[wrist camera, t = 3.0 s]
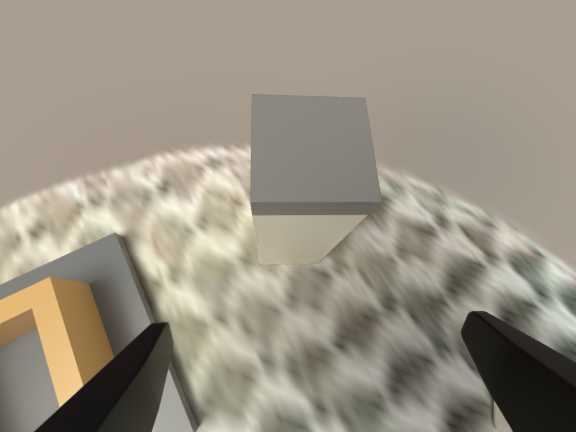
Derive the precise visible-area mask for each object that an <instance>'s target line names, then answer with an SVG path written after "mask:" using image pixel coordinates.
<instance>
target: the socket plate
mask: <svg viewBox="0 0 576 432" xmlns="http://www.w3.org/2000/svg"><path fill="white" fill-rule="evenodd" d="M153 322H156V321H155V318H154V316H153V313H152V311H151V308H150V306H149V303H148V301H147V298H146V296H145V293H144V291H143V288H142V286H141V283H140V281H139V278H138V276H137V273H136V271H135V268H134V266H133V263H132V261H131V258H130V256H129V253H128V251H127V248H126V246H125V243H124V241H123V238H122V236H120V235H118V234H116V233H113V234H111V235H109V236H107V237H104V238H102V239H100V240H98V241H96V242H93V243H91V244H89V245H87V246H85V247H82V248H80V249H78V250H76V251H74V252H71V253H69V254H67V255H65V256H63V257H61V258H58V259H56V260H54V261H52V262H50V263H47V264H45V265H43V266H41V267H39V268H36V269H34V270H32V271H30V272H28V273H26V274H23V275H21V276H19V277H17V278H15V279H12V280H10V281H8V282H6V283H4V284H1V285H0V432H34V431H35V430H36V429H37V428H38V427H39V426H40V425H41V424H42V423H44V422H45V421H46V420H47V419H48V418H49V417H50V416H51V415H52V414H53V413H54V412H55V411H57V410H58V409H59V408H60V407H61V406H62V405H63V404H64V403H65V402H66V401H67V400H68V399H70V398H71V397H72V396H73V395H74V394H75V393H76V392H77V391H78V390H79V389H80V388H81V387H83V386H84V385H85V384H86V383H87V382H88V381H89V380H90V379H91V378H92V377H93V376H94V375H96V374H97V373H98V372H99V371H100V370H101V369H102V368H103V367H104V366H105V365H106V364H107V363H109V362H110V361H111V360H112V359H113V358H114V357H115V356H116V355H117V354H118V353H119V352H120V351H122V350H123V349H124V348H125V347H126V346H127V345H128V344H129V343H130V342H131V341H132V340H133V339H135V338H136V337H137V336H138V335H139V334H140V333H141V332H142V331H143V330H144V329H145V328H146V327H148V326H149V325H150V324H151V323H153ZM197 429H198V425H197V423H196V420H195V418H194V415H193V413H192V410H191V408H190V405H189V403H188V400H187V398H186V395H185V393H184V390H183V388H182V385H181V383H180V380H179V378H178V375H177V373H176V370H175V368H174V365H173V363H172V360H171V359H170V364H169V368H168V373H167V377H166V381H165V386H164V390H163V395H162V399H161V403H160V407H159V411H158V414H157V417H156V421H155V424H154V427H153V430H152V432H196V431H197Z"/></svg>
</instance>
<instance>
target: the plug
mask: <svg viewBox="0 0 576 432" xmlns="http://www.w3.org/2000/svg"><path fill="white" fill-rule="evenodd" d="M251 125H252V126H251V187H250V204H251V210H252V217H253V224H254V231H255V238H256V244H257V251H258V258H259V265H277V264H317V263H318V262H319V261H320V260H321V259H322V258H324V257H325V256H326V255H327V254H328V253H329V252H330V251H331V250H332V249H333V248H334V247H335V246H336V245H337V244H338V243H339V242H340V241H341V240H342V239H343V238H344V237H346V236H347V235H348V234H349V233H350V232H351V231H352V230H353V229H354V228H355V227H356V226H357V225H358V224H359V223H360V222H361V221H362V220H363V219H364V218H365V217H366V216H368V215H369V214H370V213H371V212H372V211H373V210H374V209H375V208H376V207H377V206H378V205H379V204H380V203H381V202H382V201H381V195H380V188H379V182H378V176H377V169H376V163H375V156H374V150H373V144H372V137H371V131H370V125H369V118H368V112H367V106H366V99H365V98H358V97H325V96H324V97H323V96H293V95H291V96H290V95H260V94H252V124H251Z"/></svg>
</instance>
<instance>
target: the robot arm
mask: <svg viewBox="0 0 576 432" xmlns="http://www.w3.org/2000/svg"><path fill="white" fill-rule="evenodd" d="M461 335H462V338H463V341H464V343H465V345H466V347H467V349H468V351H469V353H470V355H471V357H472V359H473V361H474V363H475V365H476V367H477V369H478V371H479V373H480V375H481V377H482V379H483V381H484V383H485V385H486V387H487V389H488V391H489V393H490V394H491V396H492V398H493V400H494V401H495V403H496V405H497V406H498V408H499V410H500V411H501V413H502V415H503V416H504V418H505V420H506V421H507V423H508V425H509V426H510V428H511V430H512V431H513V432H576V362H574V361H573V360H571V359H569V358H567V357H566V356H564V355H562V354H560V353H558V352H557V351H555V350H553V349H551V348H550V347H548V346H546V345H544V344H542V343H541V342H539V341H537V340H535V339H534V338H532V337H530V336H528V335H526V334H525V333H523V332H521V331H519V330H518V329H516V328H514V327H512V326H510V325H509V324H507V323H505V322H503V321H502V320H500V319H498V318H496V317H495V316H493V315H491V314H489V313H487V312H485V311H471V312H469V313H468V315H467V317H466V320H465V322H464V324H463V327H462V329H461ZM172 350H173V340H172V335H171V330H170V326H169V323H168V322H153V323H151V324H150V325H149V326H148V327H146V328H145V329H144V330H143V331H142V332H141V333H140V334H139V335H138V336H137V337H136V338H135V339H133V340H132V341H131V342H130V343H129V344H128V345H127V346H126V347H125V348H124V349H123V350H122V351H120V352H119V353H118V354H117V355H116V356H115V357H114V358H113V359H112V360H111V361H110V362H109V363H107V364H106V365H105V366H104V367H103V368H102V369H101V370H100V371H99V372H98V373H97V374H96V375H94V376H93V377H92V378H91V379H90V380H89V381H88V382H87V383H86V384H85V385H84V386H83V387H81V388H80V389H79V390H78V391H77V392H76V393H75V394H74V395H73V396H72V397H71V398H70V399H68V400H67V401H66V402H65V403H64V404H63V405H62V406H61V407H60V408H59V409H58V410H57V411H55V412H54V413H53V414H52V415H51V416H50V417H49V418H48V419H47V420H46V421H45V422H44V423H42V424H41V425H40V426H39V427H38V428H37V429H36V430H35V431H34V432H152V430H153V427H154V424H155V421H156V417H157V414H158V411H159V407H160V403H161V399H162V395H163V390H164V386H165V381H166V377H167V373H168V368H169V364H170V359H171V355H172Z"/></svg>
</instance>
